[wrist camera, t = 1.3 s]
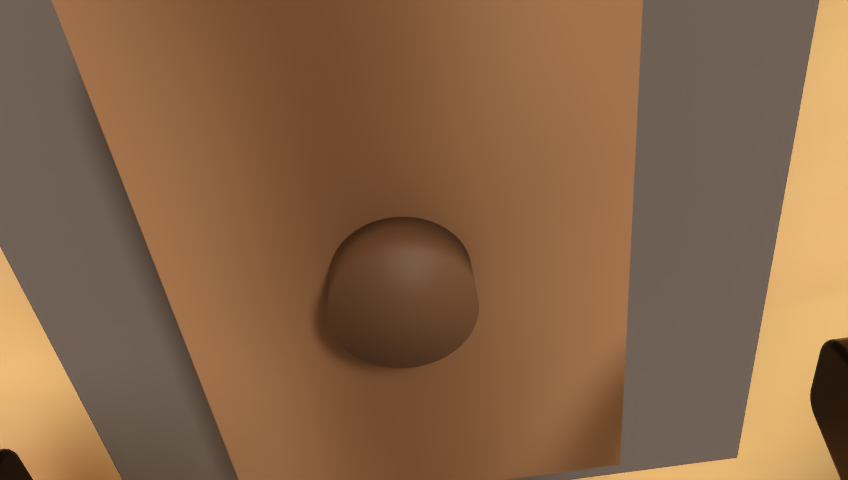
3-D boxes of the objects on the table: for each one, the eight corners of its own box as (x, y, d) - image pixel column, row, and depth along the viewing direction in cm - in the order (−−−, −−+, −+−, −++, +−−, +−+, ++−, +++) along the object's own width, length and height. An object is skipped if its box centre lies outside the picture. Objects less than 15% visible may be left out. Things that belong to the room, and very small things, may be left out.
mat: (905, -640, 9) (937, -658, 8) (727, 438, 19) (736, 457, 19) (-337, -466, 9) (-377, -474, 8) (156, 513, 19) (151, 535, 19)
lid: (581, -163, 11) (674, -102, 8) (580, 346, 16) (633, 503, 13) (110, -98, 11) (11, -12, 8) (267, 388, 16) (246, 554, 13)
